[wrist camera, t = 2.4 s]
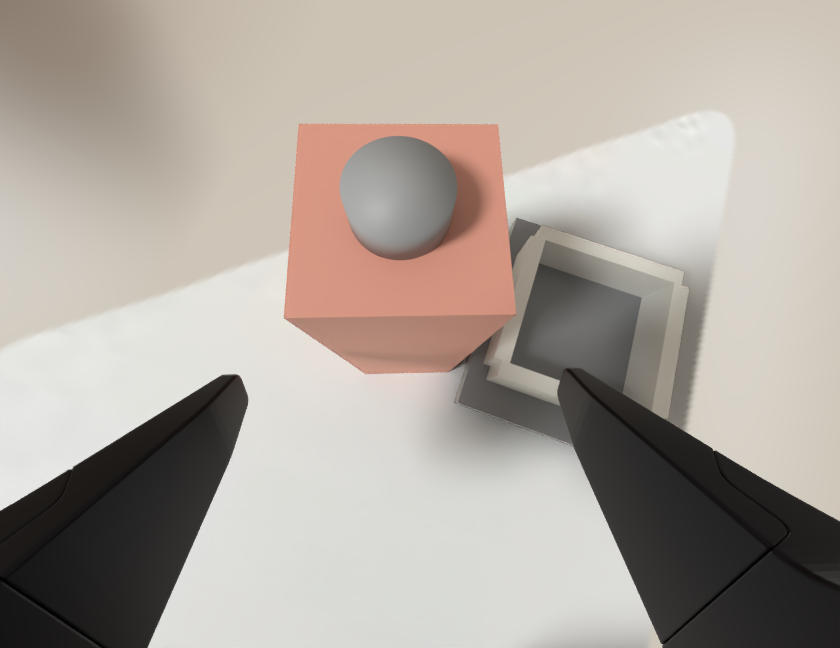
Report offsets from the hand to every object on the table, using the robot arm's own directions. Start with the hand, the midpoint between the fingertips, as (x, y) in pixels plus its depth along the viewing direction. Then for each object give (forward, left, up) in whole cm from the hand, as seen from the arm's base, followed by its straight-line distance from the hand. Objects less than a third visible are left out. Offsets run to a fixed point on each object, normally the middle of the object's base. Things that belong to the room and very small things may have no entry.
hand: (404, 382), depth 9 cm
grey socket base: (+5, -9, -10) cm, 15 cm away
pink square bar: (+4, +1, -10) cm, 11 cm away
